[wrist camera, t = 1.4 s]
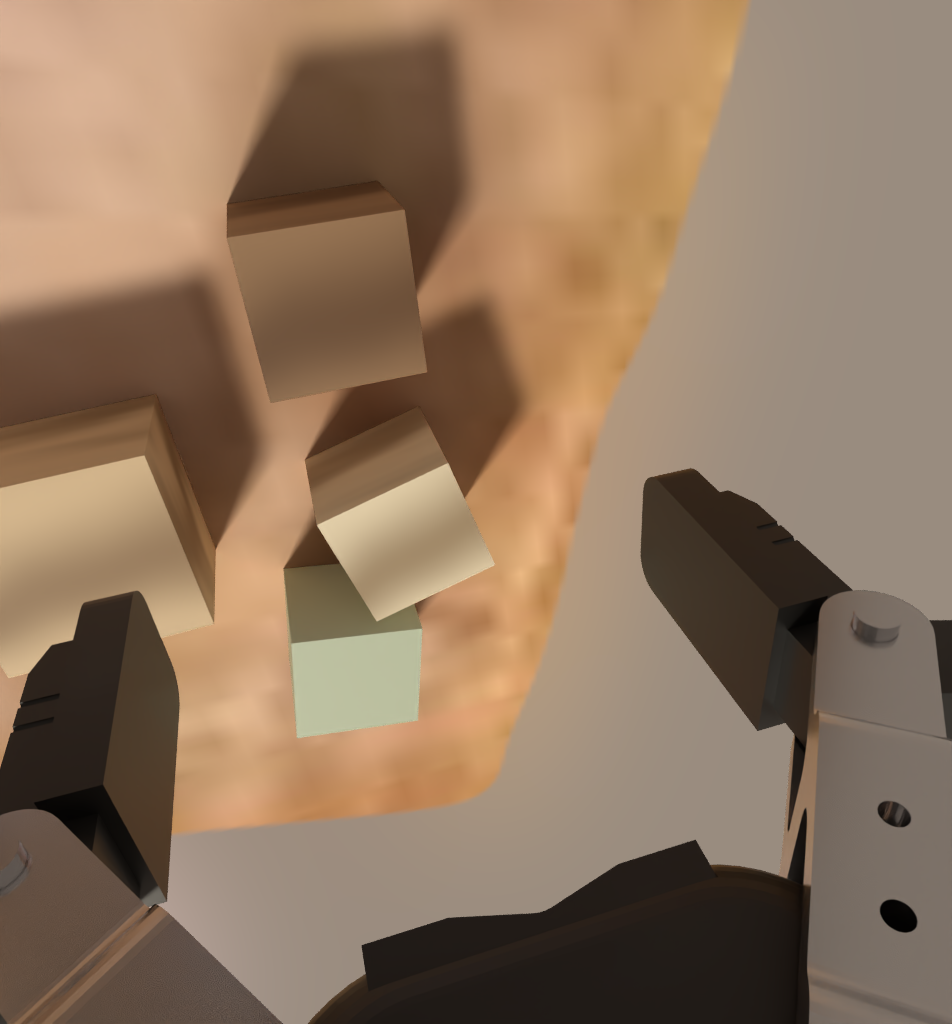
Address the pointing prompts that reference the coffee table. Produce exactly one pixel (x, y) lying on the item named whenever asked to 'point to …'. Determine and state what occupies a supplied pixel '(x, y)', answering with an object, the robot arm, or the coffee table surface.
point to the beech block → (395, 514)
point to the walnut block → (327, 288)
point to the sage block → (348, 655)
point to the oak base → (97, 527)
